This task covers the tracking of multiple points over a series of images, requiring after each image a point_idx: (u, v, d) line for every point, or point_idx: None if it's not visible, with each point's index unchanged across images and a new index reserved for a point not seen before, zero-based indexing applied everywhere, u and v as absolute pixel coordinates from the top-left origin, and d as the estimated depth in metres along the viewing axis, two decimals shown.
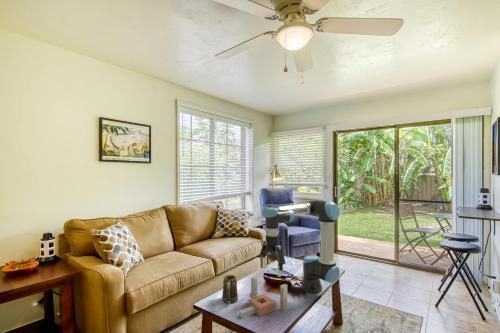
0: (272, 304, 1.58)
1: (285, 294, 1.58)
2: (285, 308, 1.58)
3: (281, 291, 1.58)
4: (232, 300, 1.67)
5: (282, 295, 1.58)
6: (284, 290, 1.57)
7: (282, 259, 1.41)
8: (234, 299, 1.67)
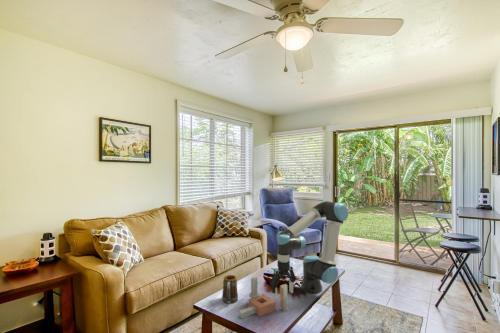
0: (272, 304, 1.58)
1: (285, 294, 1.58)
2: (285, 308, 1.58)
3: (281, 291, 1.58)
4: (232, 300, 1.67)
5: (282, 295, 1.58)
6: (284, 290, 1.57)
7: (271, 282, 1.54)
8: (234, 299, 1.67)
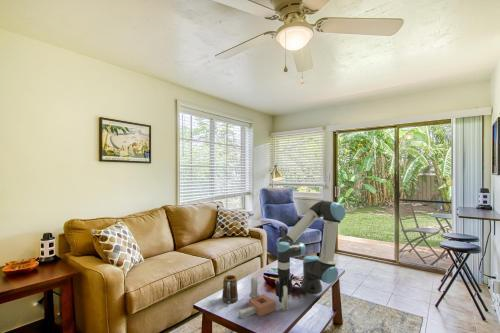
0: (272, 304, 1.58)
1: (285, 294, 1.58)
2: (285, 308, 1.58)
3: None
4: (232, 300, 1.67)
5: (282, 295, 1.58)
6: (284, 290, 1.57)
7: (276, 292, 1.56)
8: (234, 299, 1.67)
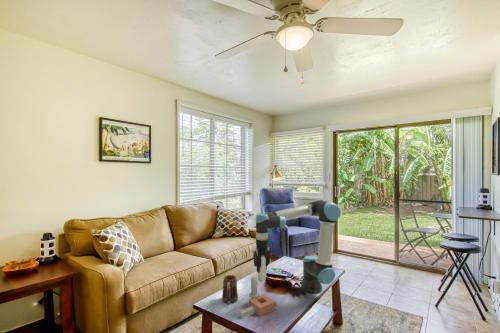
0: (272, 304, 1.58)
1: (263, 264, 1.59)
2: (263, 278, 1.59)
3: None
4: (232, 300, 1.67)
5: (260, 265, 1.59)
6: (262, 260, 1.59)
7: (254, 262, 1.58)
8: (234, 299, 1.67)
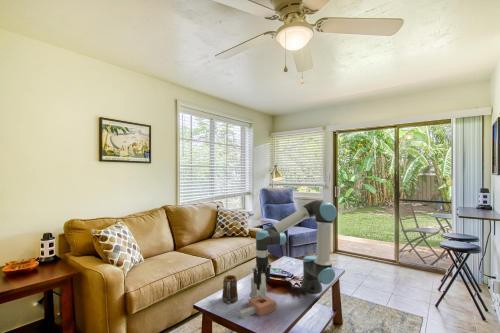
0: (272, 304, 1.58)
1: (263, 282, 1.59)
2: (263, 296, 1.59)
3: None
4: (232, 300, 1.67)
5: (260, 283, 1.59)
6: (262, 278, 1.59)
7: (254, 280, 1.58)
8: (234, 299, 1.67)
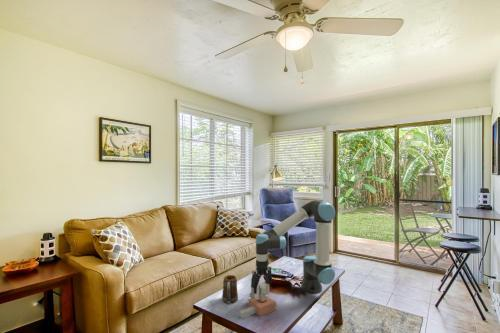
0: (272, 304, 1.58)
1: (263, 293, 1.59)
2: None
3: (259, 290, 1.60)
4: (232, 300, 1.67)
5: (260, 294, 1.59)
6: (262, 289, 1.59)
7: (252, 283, 1.56)
8: (234, 299, 1.67)
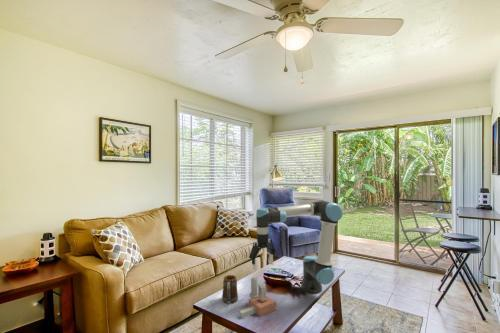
0: (272, 304, 1.58)
1: (263, 293, 1.59)
2: None
3: (259, 290, 1.60)
4: (232, 300, 1.67)
5: (260, 294, 1.59)
6: (262, 289, 1.59)
7: (251, 254, 1.58)
8: (234, 299, 1.67)
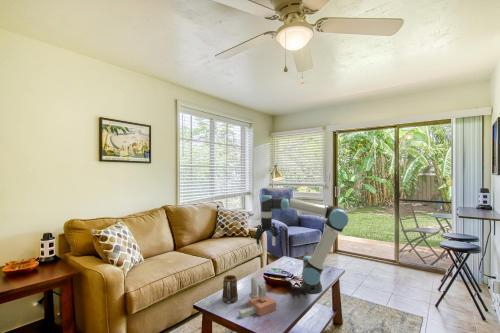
0: (272, 304, 1.58)
1: (263, 293, 1.59)
2: None
3: (259, 290, 1.60)
4: (232, 300, 1.67)
5: (260, 294, 1.59)
6: (262, 289, 1.59)
7: (255, 235, 1.77)
8: (234, 299, 1.67)
